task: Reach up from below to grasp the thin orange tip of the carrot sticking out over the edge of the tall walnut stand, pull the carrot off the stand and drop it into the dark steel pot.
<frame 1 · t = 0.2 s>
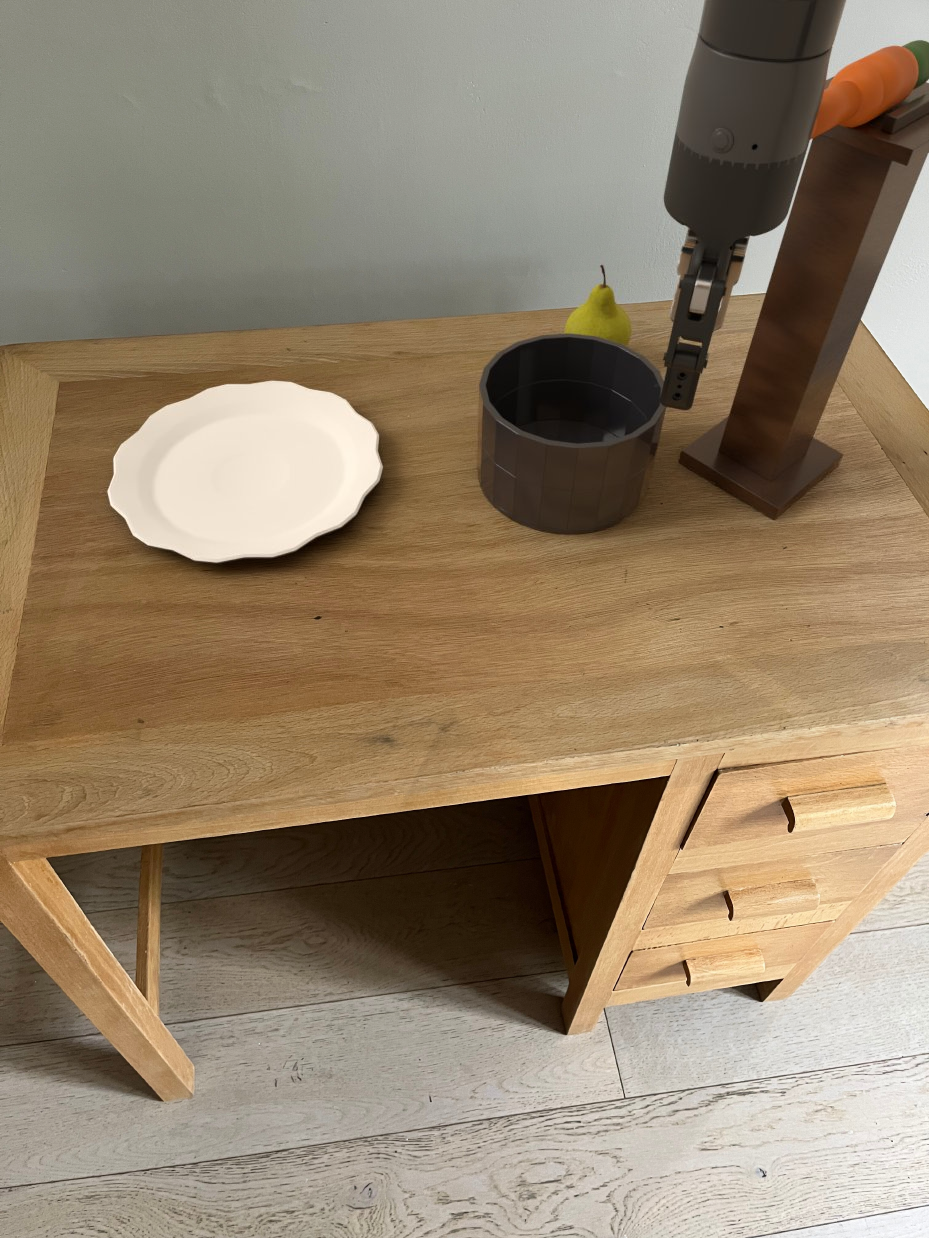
hand: (685, 370, 62), 18 cm above the table, tool pointing down, fingers open, 8 cm apart
fruit: (593, 363, 94), on the table
carrot: (848, 122, 56), point 32 cm above the table, touching stand
plate: (251, 478, 82), on the table
pot: (562, 474, 82), on the table
stand: (758, 464, 83), on the table
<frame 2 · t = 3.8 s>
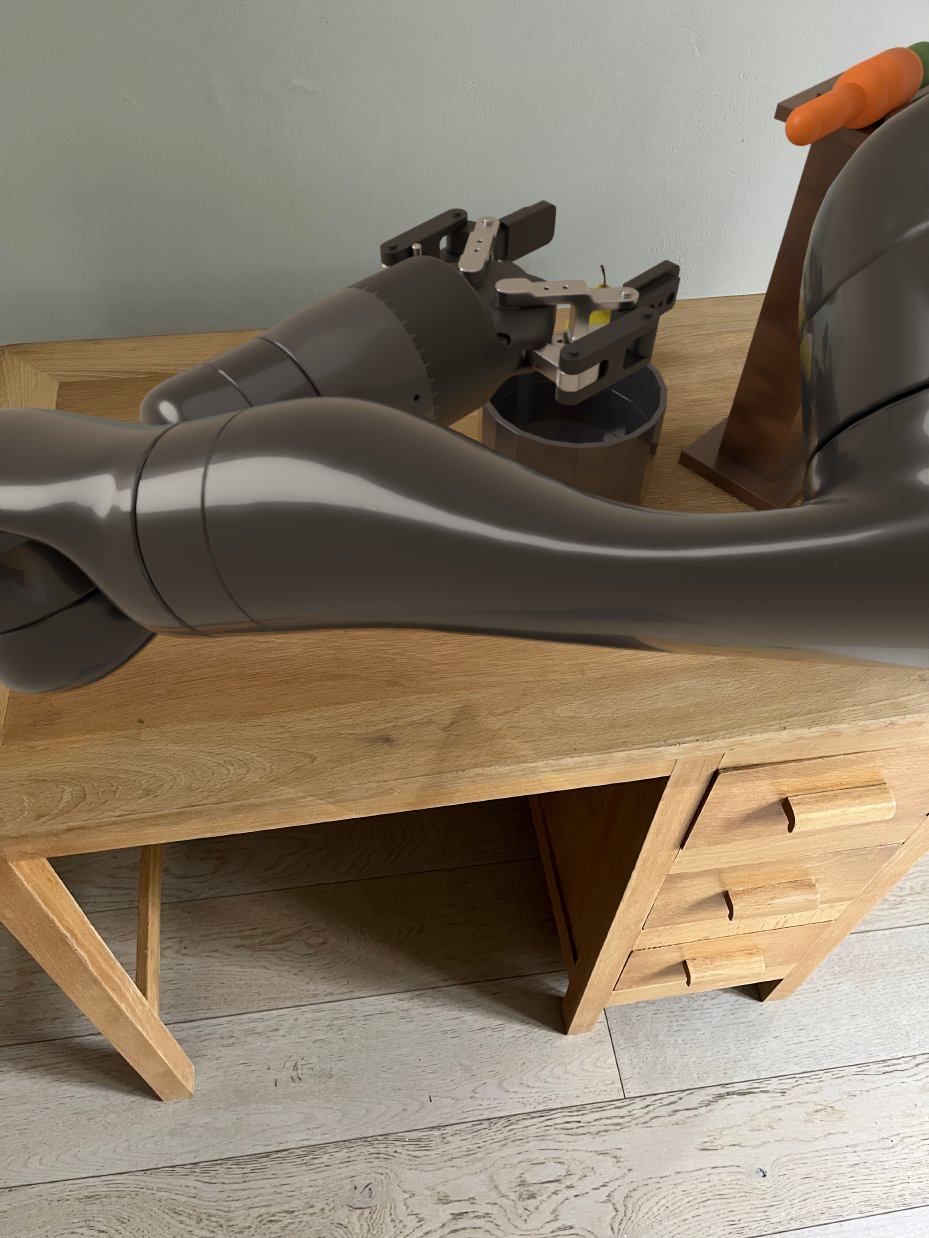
hand: (608, 248, 46), 32 cm above the table, tool horizontal, fingers open, 8 cm apart
carrot: (848, 121, 56), point 32 cm above the table, tilted 14°, touching stand
everything else where it was.
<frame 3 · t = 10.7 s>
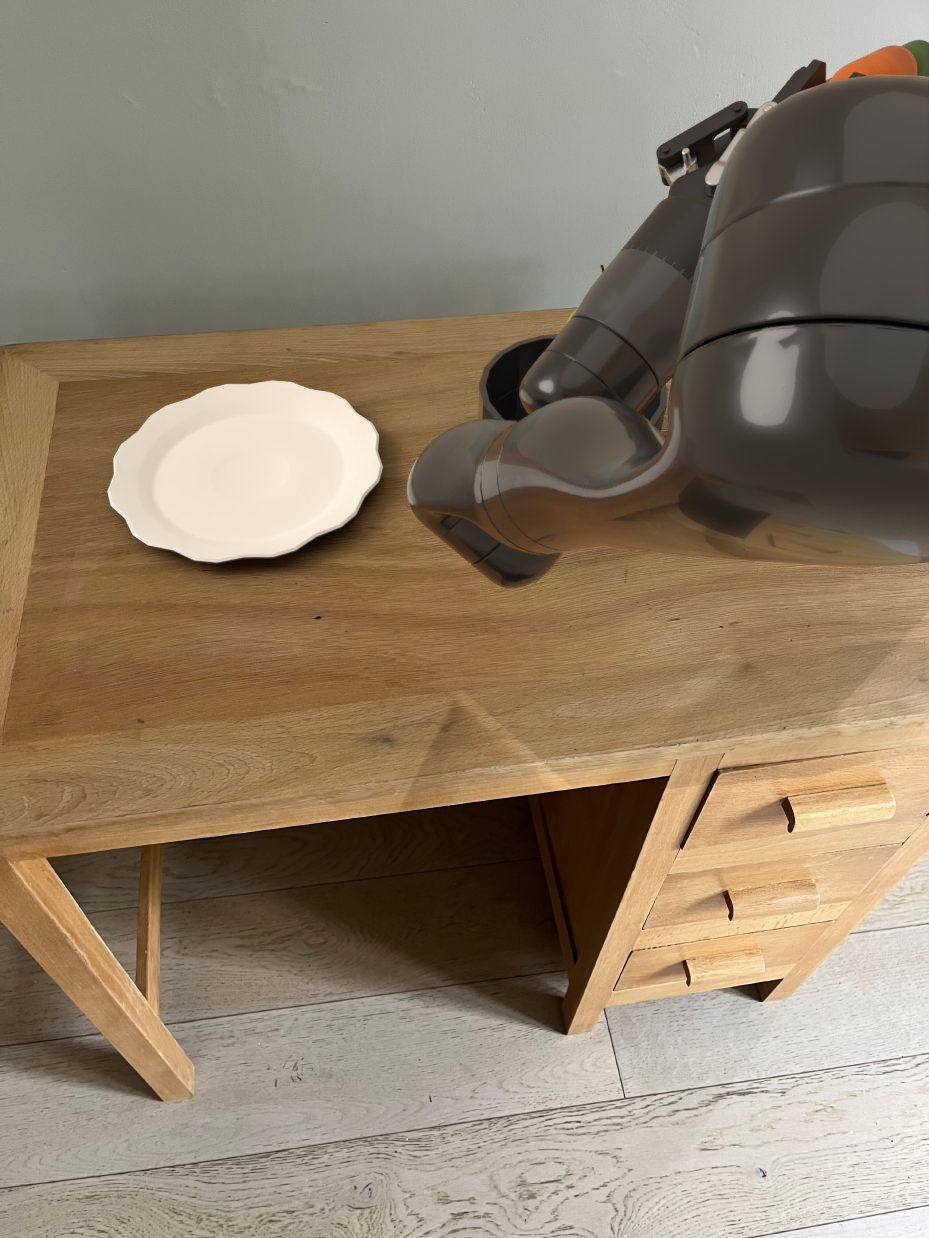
hand: (839, 79, 52), 35 cm above the table, tool pointing upward, fingers closed on carrot, 2 cm apart
carrot: (848, 122, 56), point 32 cm above the table, touching gripper, stand
everything else where it was.
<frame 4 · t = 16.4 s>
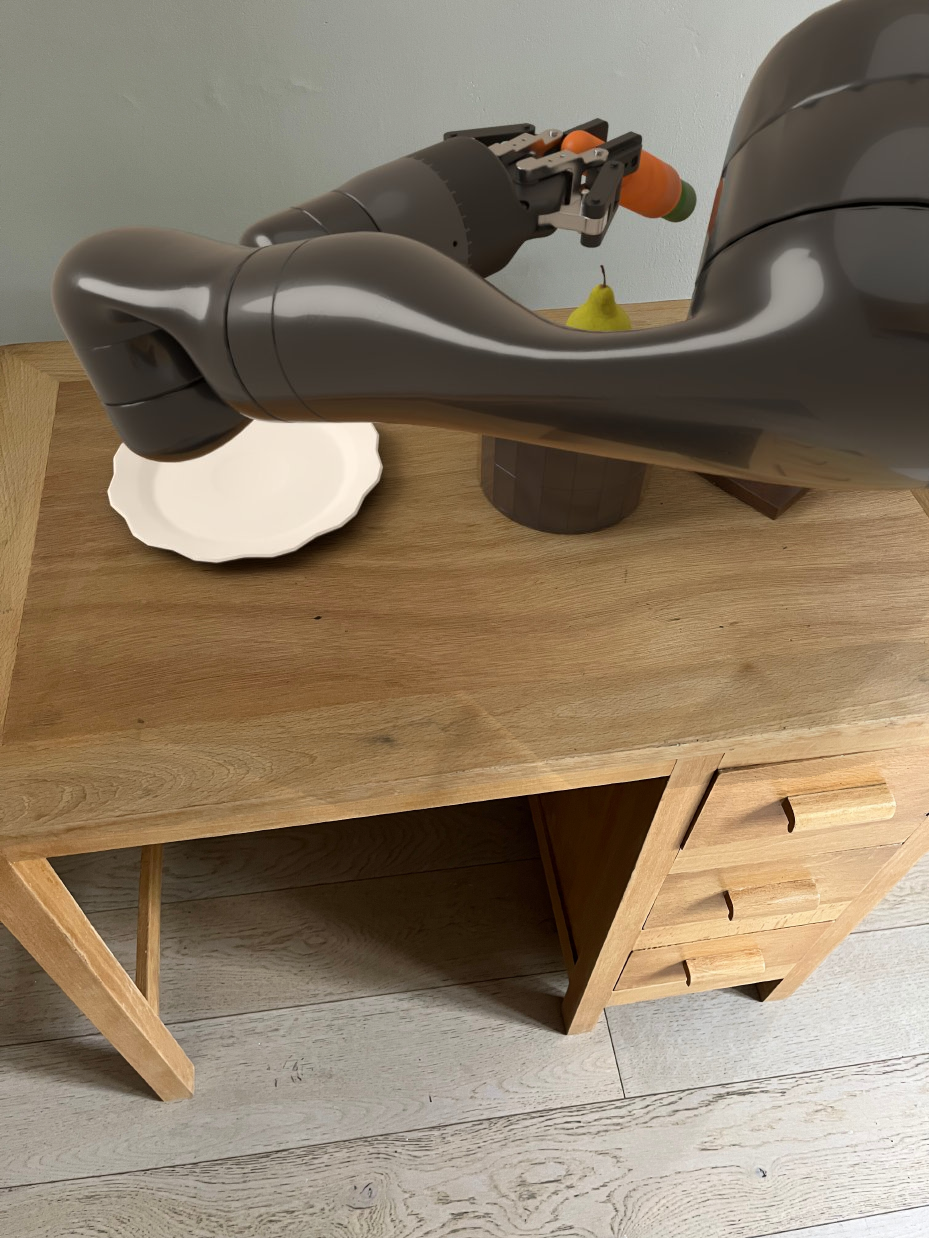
hand: (618, 143, 55), 31 cm above the table, tool horizontal, fingers closed on carrot, 2 cm apart
carrot: (620, 205, 59), point 27 cm above the table, tilted 30°, touching gripper
everything else where it was.
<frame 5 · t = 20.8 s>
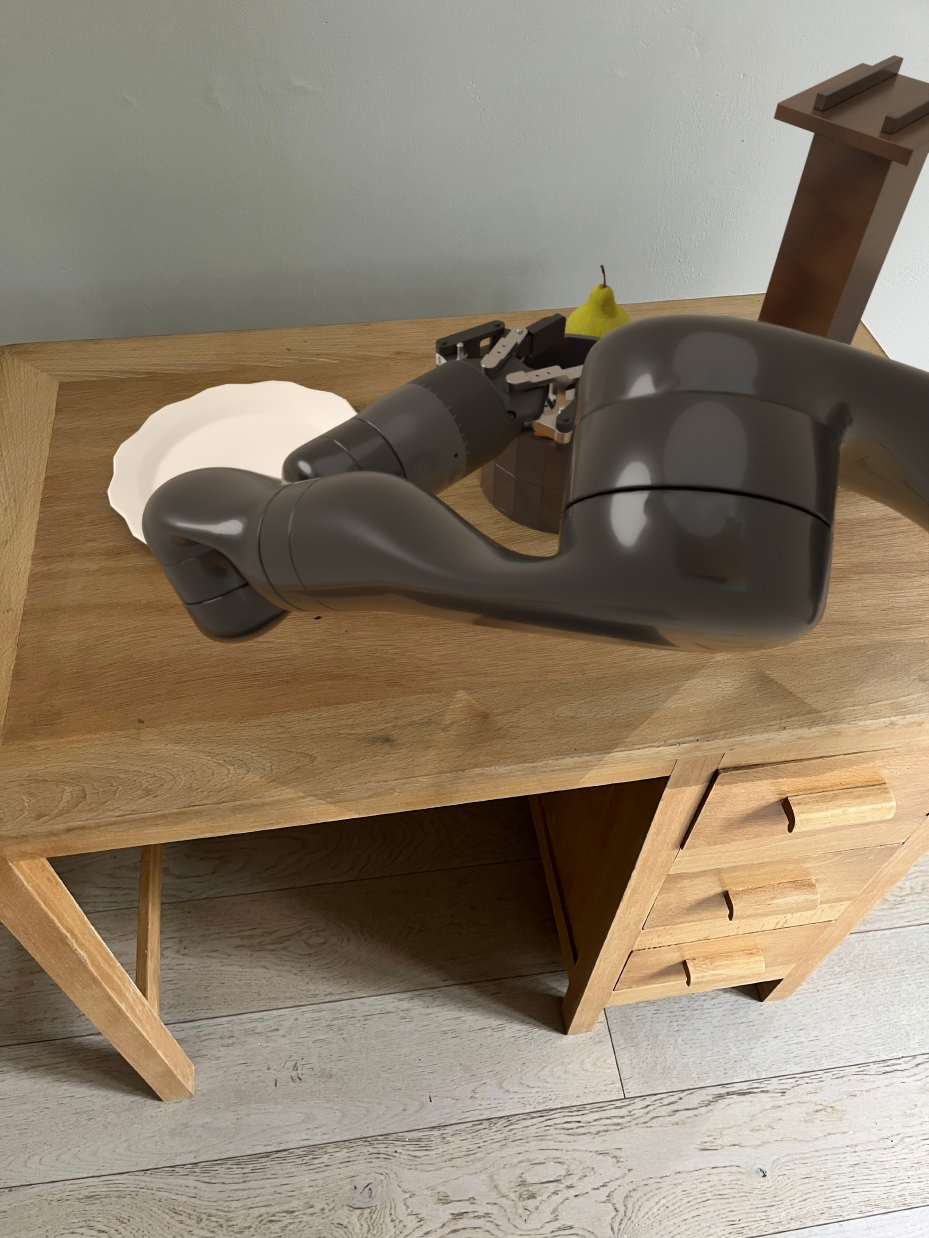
hand: (588, 341, 66), 17 cm above the table, tool horizontal, fingers open, 5 cm apart
carrot: (580, 458, 76), point 5 cm above the table, tilted 51°, touching pot
everything else where it was.
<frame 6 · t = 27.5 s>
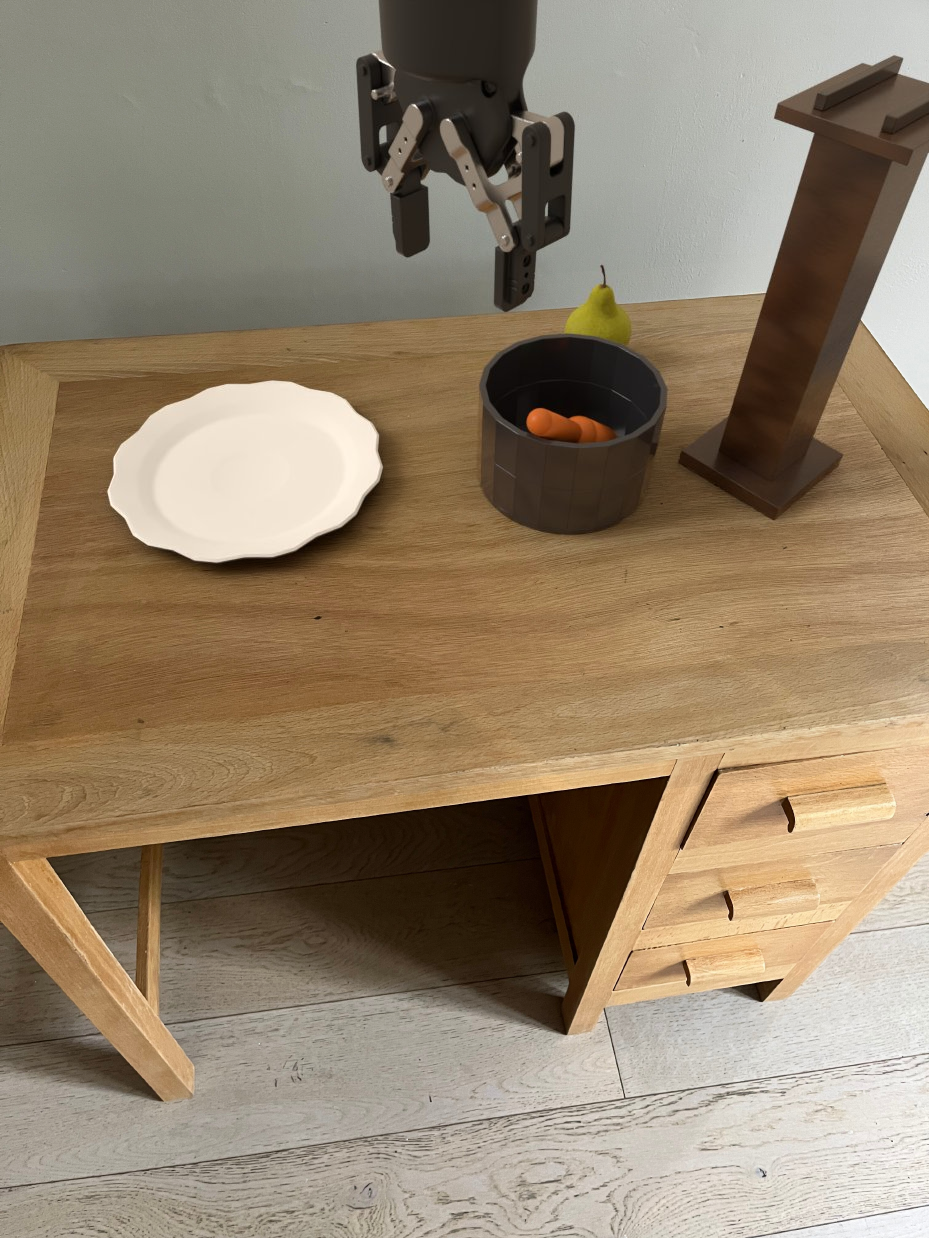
hand: (460, 277, 51), 28 cm above the table, tool pointing down, fingers open, 8 cm apart
nothing on the table moved.
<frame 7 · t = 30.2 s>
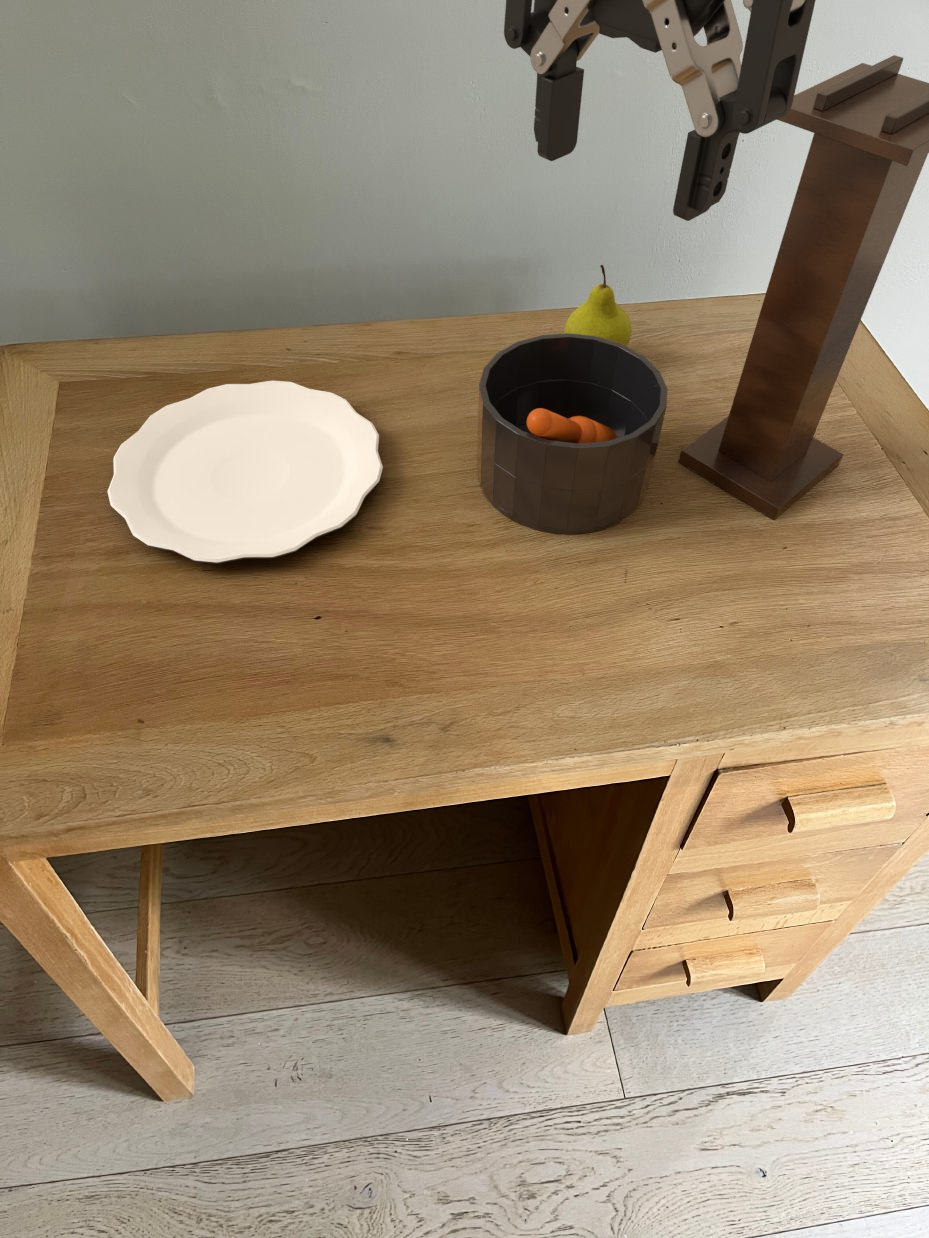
hand: (620, 182, 42), 36 cm above the table, tool pointing down, fingers open, 8 cm apart
nothing on the table moved.
at the end: carrot inside the target area in the pot (4.0 cm from its centre), point 5.3 cm above the pot's base; the gripper is holding nothing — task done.
